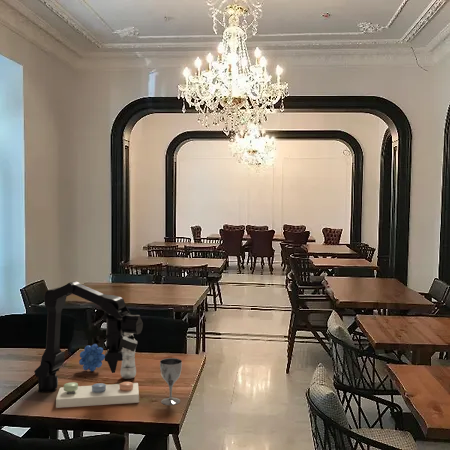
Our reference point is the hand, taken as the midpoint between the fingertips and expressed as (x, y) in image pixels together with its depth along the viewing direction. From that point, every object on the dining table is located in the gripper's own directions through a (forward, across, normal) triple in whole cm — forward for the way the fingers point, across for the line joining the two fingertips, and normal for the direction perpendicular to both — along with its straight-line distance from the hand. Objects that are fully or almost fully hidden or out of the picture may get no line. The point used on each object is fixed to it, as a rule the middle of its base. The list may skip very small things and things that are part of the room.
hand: (113, 372), depth 190 cm
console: (+10, 0, +5) cm, 11 cm away
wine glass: (+9, -8, -21) cm, 24 cm away
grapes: (+10, +33, +9) cm, 35 cm away
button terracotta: (+9, 0, -5) cm, 10 cm away
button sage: (+8, 0, +15) cm, 17 cm away
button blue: (+9, 0, +5) cm, 10 cm away
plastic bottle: (+10, +21, -6) cm, 24 cm away
